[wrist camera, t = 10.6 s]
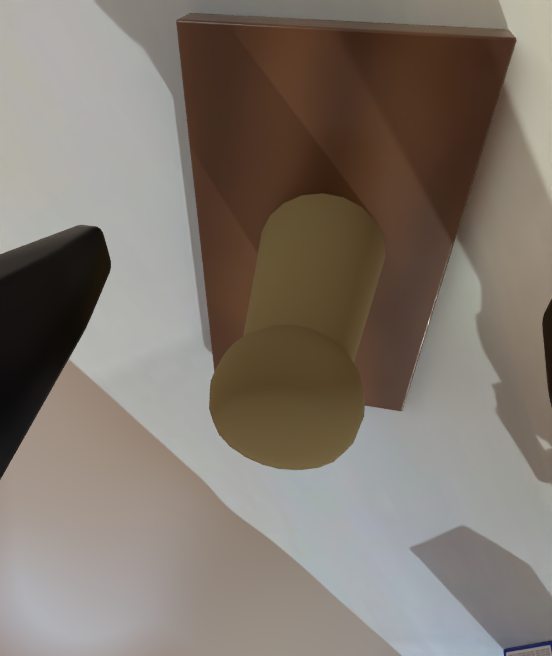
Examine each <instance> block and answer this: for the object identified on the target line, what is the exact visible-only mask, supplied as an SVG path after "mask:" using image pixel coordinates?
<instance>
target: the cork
mask: <svg viewBox="0 0 552 656" xmlns="http://www.w3.org/2000/svg"><path fill="white" fill-rule="evenodd" d="M385 257H386V256H385V240H384V237H383V235H382V233H381V231H380V228H379V226H378V224H377V222H376V221H375V220H374V219H373V218H372V217H371V216H370V215H369V214H368V213H367V212H366V211H365V209H364V208H363V207H361V206H359V205H357V204H355V203H353V202H351V201H349V200H348V199H346V198H344V197H339V196H334V195H329V194H323V193H321V194H311V195H302V196H299V197H297V198H295V199H292V200H290V201H288V202H285V203H283V204H282V205H281V206H280V207H279V208H278V209H277V210H276V211H275V212H273V213H272V214H271V215H270V216H269V218H268V220H267V222H266V224H265V226H264V228H263V230H262V233H261V239H260V245H259V250H258V256H257V262H256V267H255V273H254V278H253V284H252V290H251V295H250V301H249V307H248V312H247V318H246V323H245V329H244V335H243V337H242V338H240V339H239V340H238V341H236V342H235V343H234V344H232V346H231V347H230V348H229V349H228V350H227V351H226V353H225V354H224V355H223V357H222V359H221V361H220V362H219V364H218V366H217V368H216V370H215V372H214V375H213V377H212V379H211V385H210V402H209V410H210V413H211V416H212V419H213V422H214V424H215V427H216V429H217V431H218V433H219V435H220V436H221V437H222V438H223V439H224V440H225V442H226V443H227V444H228V445H229V446H230V447H232V448H233V449H235V450H236V451H238V452H239V453H240V454H242V455H243V456H245V457H247V458H249V459H251V460H253V461H256V462H258V463H260V464H263V465H266V466H270V467H274V468H278V469H289V470H304V469H312V468H319V467H321V466H324V465H326V464H329V463H331V462H334V461H335V460H336V459H337V458H338V457H339V456H340V455H341V454H343V453H344V452H345V451H346V450H347V449H348V448H349V447H350V446H351V445H352V444H353V442H354V440H355V437H356V435H357V432H358V430H359V427H360V425H361V422H362V420H363V417H364V406H365V400H364V392H363V384H362V381H361V377H360V373H359V371H358V369H357V367H356V366H355V364H354V361H355V357H356V354H357V351H358V347H359V344H360V341H361V337H362V334H363V331H364V327H365V324H366V320H367V317H368V314H369V310H370V307H371V304H372V300H373V297H374V294H375V290H376V287H377V284H378V280H379V277H380V274H381V270H382V267H383V264H384V260H385Z"/></svg>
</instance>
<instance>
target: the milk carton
mask: <svg viewBox="0 0 552 656" xmlns="http://www.w3.org/2000/svg"><path fill="white" fill-rule="evenodd" d="M503 651H504V656H552V641H551V642H545V643H539V644H533V645H528V646H522V647H516V648H511V649H505V650H503Z"/></svg>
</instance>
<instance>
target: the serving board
mask: <svg viewBox="0 0 552 656" xmlns="http://www.w3.org/2000/svg"><path fill="white" fill-rule="evenodd" d="M176 23H177V32H178V41H179V50H180V59H181V68H182V78H183V87H184V96H185V105H186V114H187V123H188V133H189V142H190V151H191V160H192V169H193V178H194V188H195V197H196V206H197V215H198V224H199V233H200V243H201V252H202V261H203V270H204V279H205V288H206V298H207V307H208V316H209V325H210V334H211V343H212V353H213V362H214V371H215V370H216V368H217V366H218V364H219V362H220V361H221V359H222V357H223V355H224V354H225V353H226V351H227V350H228V349H229V348H230V347H231V346H232V344H234V343H235V342H236V341H238V340H239V339H240V338H242V337H243V335H244V329H245V323H246V318H247V312H248V307H249V301H250V295H251V290H252V284H253V278H254V273H255V267H256V262H257V256H258V250H259V245H260V239H261V233H262V230H263V228H264V226H265V224H266V222H267V220H268V218H269V216H270V215H271V214H272V213H273V212H275V211H276V210H277V209H278V208H279V207H280V206H281V205H282V204H283V203H285V202H288V201H290V200H292V199H295V198H297V197H299V196H302V195H311V194H321V193H323V194H329V195H334V196H339V197H344V198H346V199H348V200H349V201H351V202H353V203H355V204H357V205H359V206H361V207H363V208H364V209H365V211H366V212H367V213H368V214H369V215H370V216H371V217H372V218H373V219H374V220H375V221H376V222H377V224H378V226H379V228H380V231H381V233H382V235H383V237H384V240H385V256H386V257H385V260H384V264H383V267H382V270H381V274H380V277H379V280H378V284H377V287H376V290H375V294H374V297H373V300H372V304H371V307H370V310H369V314H368V317H367V320H366V324H365V327H364V331H363V334H362V337H361V341H360V344H359V347H358V351H357V354H356V357H355V361H354V364H355V366H356V367H357V369H358V371H359V373H360V377H361V381H362V384H363V392H364V400H365V405H366V406H372V407H378V408H384V409H390V410H397V411H402V410H403V407H404V404H405V400H406V397H407V394H408V391H409V387H410V384H411V381H412V378H413V374H414V371H415V368H416V365H417V361H418V358H419V355H420V352H421V348H422V345H423V342H424V339H425V335H426V332H427V329H428V326H429V322H430V319H431V316H432V313H433V310H434V306H435V303H436V300H437V297H438V293H439V290H440V287H441V284H442V280H443V277H444V274H445V271H446V267H447V264H448V261H449V258H450V254H451V251H452V248H453V245H454V241H455V238H456V235H457V232H458V228H459V225H460V222H461V219H462V215H463V212H464V209H465V206H466V202H467V199H468V196H469V193H470V190H471V186H472V183H473V180H474V177H475V173H476V170H477V167H478V164H479V160H480V157H481V154H482V151H483V147H484V144H485V141H486V138H487V134H488V131H489V128H490V125H491V121H492V118H493V115H494V112H495V108H496V105H497V102H498V99H499V95H500V92H501V89H502V86H503V83H504V79H505V76H506V73H507V70H508V66H509V63H510V60H511V57H512V53H513V50H514V47H515V44H516V37H515V36H514V35H513V34H512V33H511V32H510V31H509V30H505V29H485V28H466V27H447V26H427V25H408V24H389V23H370V22H350V21H331V20H312V19H292V18H273V17H254V16H234V15H215V14H196V13H190V14H188V15H186V16H184V17H182V18H180V19H178V20H177V22H176Z"/></svg>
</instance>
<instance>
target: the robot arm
mask: <svg viewBox="0 0 552 656" xmlns="http://www.w3.org/2000/svg"><path fill="white" fill-rule="evenodd" d="M110 269H111V260H110V256H109V253H108V249H107V246H106V242H105V238H104V235H103V232H102V231H101V229H100V228H98V227H95V226H87V225H78V226H75V227H73V228H70V229H67V230H65V231H62V232H59V233H56V234H54V235H51V236H48V237H46V238H43V239H40V240H38V241H35V242H32V243H30V244H27V245H24V246H21V247H19V248H16V249H13V250H11V251H8V252H5V253H3V254H0V479H1V477H2V476H3V474H4V472H5V470H6V469H7V467H8V465H9V463H10V461H11V460H12V458H13V456H14V454H15V453H16V451H17V449H18V447H19V446H20V444H21V442H22V440H23V439H24V436H25V435H26V433H27V432H28V430H29V428H30V426H31V425H32V423H33V421H34V419H35V417H36V416H37V414H38V412H39V410H40V409H41V407H42V405H43V403H44V402H45V400H46V398H47V396H48V395H49V393H50V391H51V389H52V387H53V386H54V384H55V382H56V380H57V378H58V377H59V375H60V373H61V371H62V370H63V368H64V366H65V364H66V363H67V361H68V359H69V357H70V356H71V354H72V352H73V350H74V349H75V347H76V345H77V343H78V342H79V340H80V338H81V336H82V334H83V332H84V331H85V329H86V327H87V324H88V322H89V320H90V318H91V316H92V313H93V311H94V308H95V306H96V304H97V301H98V299H99V296H100V294H101V292H102V289H103V287H104V285H105V282H106V280H107V277H108V275H109V273H110ZM542 326H543V338H544V349H545V361H546V372H547V383H548V392H549V397H550V402H551V407H552V299H551V301H550V303H549V305H548V307H547V309H546V311H545V313H544V316H543V323H542Z"/></svg>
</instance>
